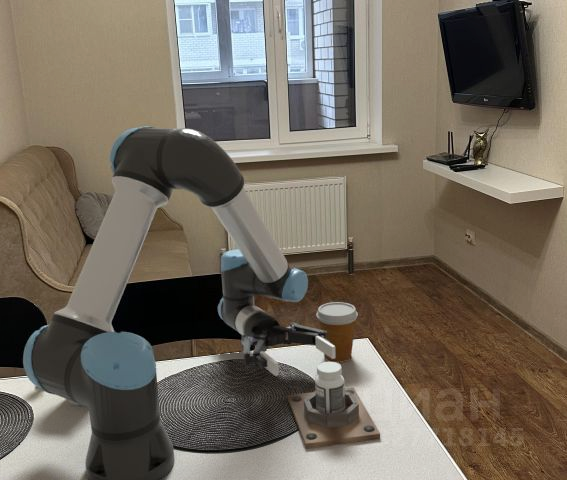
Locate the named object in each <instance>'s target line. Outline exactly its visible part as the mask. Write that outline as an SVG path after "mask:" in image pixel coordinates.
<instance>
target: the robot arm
mask: <svg viewBox="0 0 567 480" xmlns="http://www.w3.org/2000/svg"><path fill="white" fill-rule="evenodd" d="M109 153H110V154H109V162H111V165H110V169H111V173H112V175H113V176H112V178H111V184H112V186H113V188H114V190H115V192H114V194H113V196H112V198H111V201H110V202H109V206H108V207H107V210H106V213H105V215H104V217H103V220H102V222H101V224H100V226H99V229H98V231H97V234H96V236H95V238H94V241H93V242H92V245H91V248H90V250H89V253H88V255H87V257H86V259H85V262H84V264H83V266H82V269H81V272H80V273H79V276H78V279H77V281H76V283H75V285H74V287H73V291H72V292H71V295H70V298H69V299H68V302H67V305H65V307H64V308H61V309H59V310H56V311H54V313H53V315H52V317H51V319H50V322H49V324H47V325H43V326H41V327H40V328H39V329H38V330H35V331H34V332H33V333H32V334H31V335H30V336H29V338H28V340H27V342H26V344H25V346H24V350H23V357H22V364H23V370H24V371H25V373H26V374H25V375H26V377H27V378H28V380H29V381H30V382H31V383H32V384H33V385H34V386H36V387H38V388H39V389H42V390H43V392H45V393H48V394H50V395H55V396H58V397H59V398H63V399H65V400H67V399H68V400H71V401H73V402H76V403H78V404H81V405H80V406H84V407H85V408H88V416H89V420H90V428H91V435H90V439H89V443H88V449H87V453H86V457H85V464H84V465H85V472H86V477H87V480H163V478H165V477H166V476H167V475H168V474H169V473H170V472H171V470H172V469H173V466H174V463H175V451H174V445H173V442H172V440H171V439H170V437H169V434H168V433H167V431H166V428H165V426H164V424H163V423H162V420H161V413H160V402H159V401H160V399H159V388H158V386H159V385H158V377H157V362H156V360H155V356H154V350H153V347H152V345H151V343H150V342H149V341H148V340H146V339H145V338H144V337H142V336H140V335H138V334H135V333H133V332H127V331H120V332H116V331H115V330H114V327H113V325H112V321H113V319H114V316H115V315H116V311H117V310H118V309H117V308H118V306H119V304H120V301H121V299H122V296H123V295H124V291H125V289H126V286H127V284H128V281H129V279H130V277H131V275H132V272H133V270H134V267H135V264H136V261H137V259H138V258H139V254H140V252H141V251H142V250H141V249H142V247H143V245H144V241H145V239H146V238H147V234H148V232H149V229H150V226H151V224H152V222H153V220H154V217H155V214H156V212H157V210H158V208H160V207H161V208H162V206H165V205H167V204H168V203H169V201H170V198H171V196H172V193H173V191H174V189H175V190H184V191H187V192H190V193H192V194H193V195H195V196H196V197H197V198H198V199H199V201H200V202H201V204H202V205H203V206H205V207H206V208H211V209H212V211H213V212H214V213H215V216H216V217H217V219H218V220H219V221H220V223H221V225H223V227H224V229H225V230H226V232H227V233H228V235H229V236H230V238H231V239H232V241H233V242H234V244H235V246H236V247H237V249H231V250H227V251H226V252H224V253H223V254H222V255H221V256H220V262H221V264H220V265H221V267H220V268H221V269H220V272H221V274H220V275H221V283H222V284H221V285H222V294H223V295H222V298H221V299H220V300H219V303H218V305H217V312H218V315H219V317H220V319H221V320H223V322H224V323H225V324H226V325H227V326H229V327H230V328H232V329H233V330H235V331H236V332H237V333H239V334H240V335H241V336H240V337H241V339H240V340H241V347H242V349H243V361H244V362H243V363H244V365H245V366H249V365H250V364H251V363H253V367H254V368H263V369H264V368H265V369H266V370H268V372H270V373H271V374H272V375H273V376H275V377H277V376H279V373H280V372H279V362H278V361H277V360H275V359H274V358H273V357H271V356H270V355H269V354H267V353H266V352H267V351H268V348H269V347H275V346H277V345H292V344H299V345H307V346H315V349H317V350H319V351H320V352H321V353H323V355H324V354H326V355H327V356H329V357H330V358H332V359H334V358H335V346H334V345H333V344H331V343H330V341H328V340H327V331H324V330H320V328H314V327H310V326H305V325H301V324H298V323H297V322H290V323H289V326H287V327H286V326H283V325H280V323H279V322H278V320H277V319H276V318H275V317H274V316H272V315H270V314H269V313H268V312H266V311H265V310H263V309H261V308H260V307H258V306H257V305H255V295H256V296H260V297H266V298H269V299H273V300H274V299H275V300H279V301H282V302H291V303H292V302H293V303H299V302H300V301H302V300H303V298H304V297H305V295H306V293H307V291H308V286H309V285H308V284H309V279H308V275H307V273H306V272H305V271H304V270H302V269H298V268H297V267H294V268H293V267H291V266H290V263H289V262H288V261H287V258H286V257H285V255H284V254H283V252H282V249H280V247H279V245H278V244H277V242H276V239H274V236H273V235H272V233H271V232H270V230H269V227H268V226H267V225H266V223H265V222H264V220H263V218H262V216H261V215H260V213H259V211H258V209H257V208H256V206H255V205H254V203H253V201H252V199H251V198H250V196H249V194H248V193H247V191H246V188H245V184H246V183H245V182H246V180H245V178H244V176H243V174H242V172H241V170H240V169H239V168H238V165H237V164H236V163H235V161H234V160H233V158H231V156H230V155H229V154H228V153H227V151H225V149H223V147H222V146H220V145H219V144H218V143H217V142H216V141H215V140H214V139H212V138H211V137H210V136H208V135H206V134H204V133H203V132H201V131H199V130H196V129H192V128H175V127H174V128H173V127H172V128H171V127H169V128H167V127H154V126H140V127H133V128H131V129H127V130H125V131H124V132H123V133H121V134H120V135H119V136H118V137H117V138H116V140H114V143H113V145H112V147H111V150H110V152H109ZM252 345H254V346H255V348H254V350H253V351H252V353H251V347H252ZM68 400H67V401H68Z"/></svg>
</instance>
